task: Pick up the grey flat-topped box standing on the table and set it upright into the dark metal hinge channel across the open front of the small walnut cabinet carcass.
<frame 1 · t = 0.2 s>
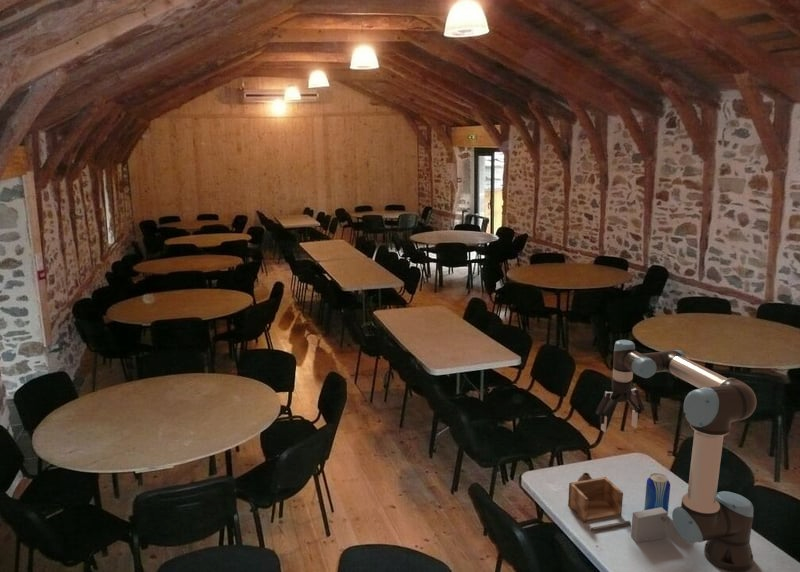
hand: (618, 428, 262), 28 cm above the table, fingers open, 13 cm apart
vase: (585, 493, 267), on the table
beer can: (655, 515, 252), on the table
grey flat-topped box: (648, 536, 239), on the table
carcass: (594, 510, 255), on the table
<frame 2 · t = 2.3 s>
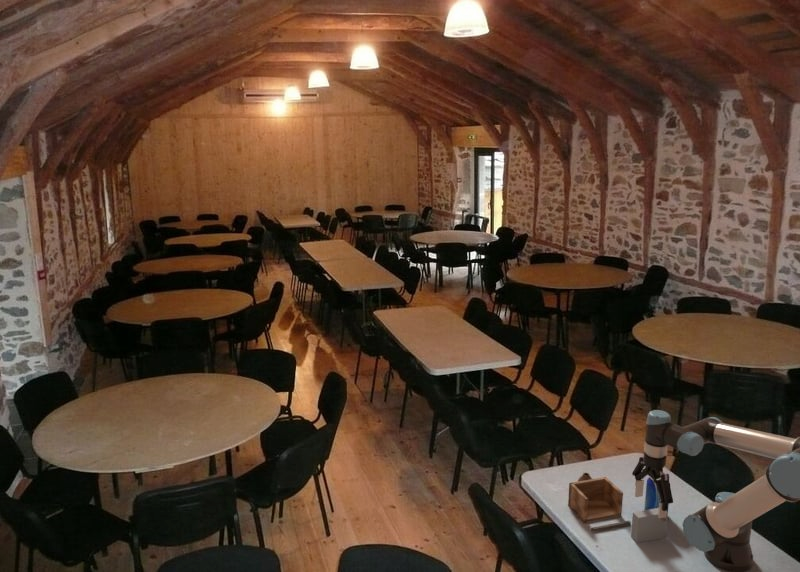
hand: (650, 506, 236), 12 cm above the table, fingers open, 13 cm apart
nothing on the table moved.
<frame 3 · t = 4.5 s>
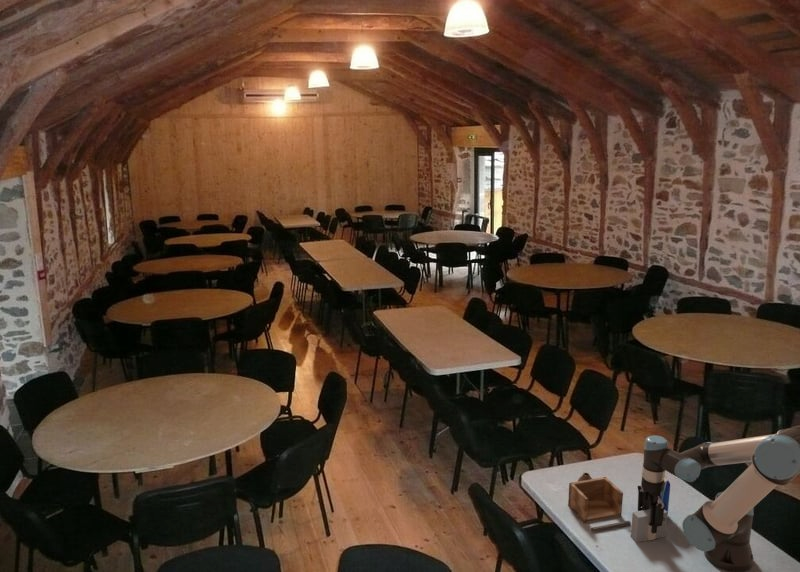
hand: (647, 535, 239), 0 cm above the table, fingers closed on grey flat-topped box, 3 cm apart
grey flat-topped box: (647, 536, 239), on the table, touching gripper
everything else where it was.
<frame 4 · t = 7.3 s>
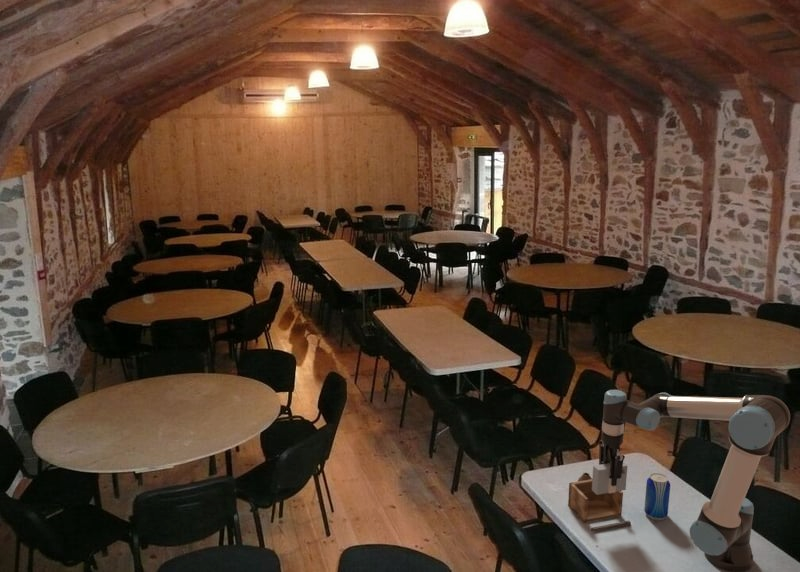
hand: (608, 489, 244), 14 cm above the table, fingers closed on grey flat-topped box, 3 cm apart
grey flat-topped box: (608, 489, 244), point 14 cm above the table, touching gripper
everything else where it was.
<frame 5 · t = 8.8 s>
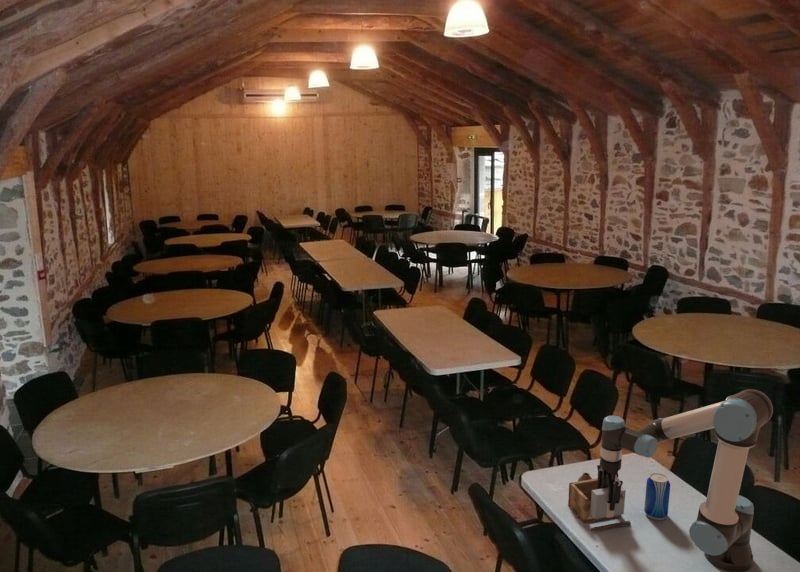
hand: (606, 513, 246), 4 cm above the table, fingers closed on grey flat-topped box, 3 cm apart
grey flat-topped box: (606, 513, 246), point 4 cm above the table, touching gripper
everything else where it was.
when the fingers open (2 cm above the table, at t = 10.0 s): grey flat-topped box drops 2 cm, on the table.
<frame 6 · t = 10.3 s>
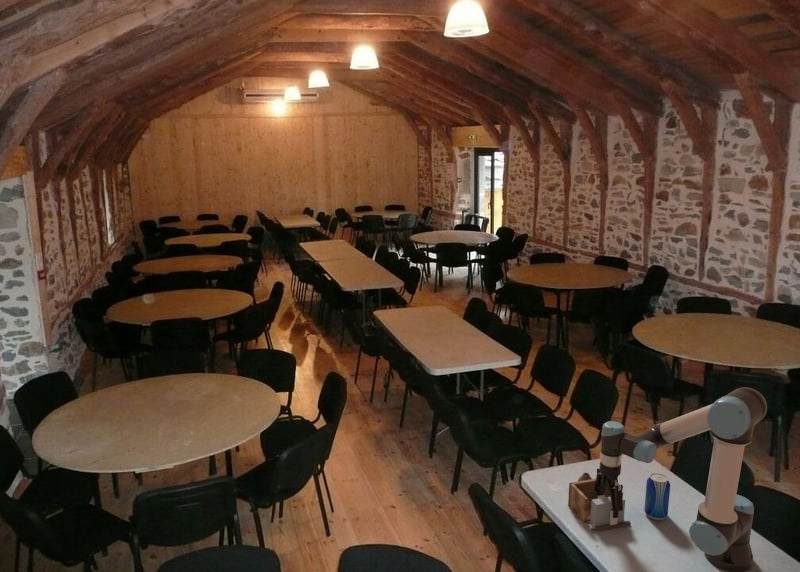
hand: (606, 517, 247), 2 cm above the table, fingers open, 8 cm apart
grey flat-topped box: (606, 523, 247), on the table
everything else where it was.
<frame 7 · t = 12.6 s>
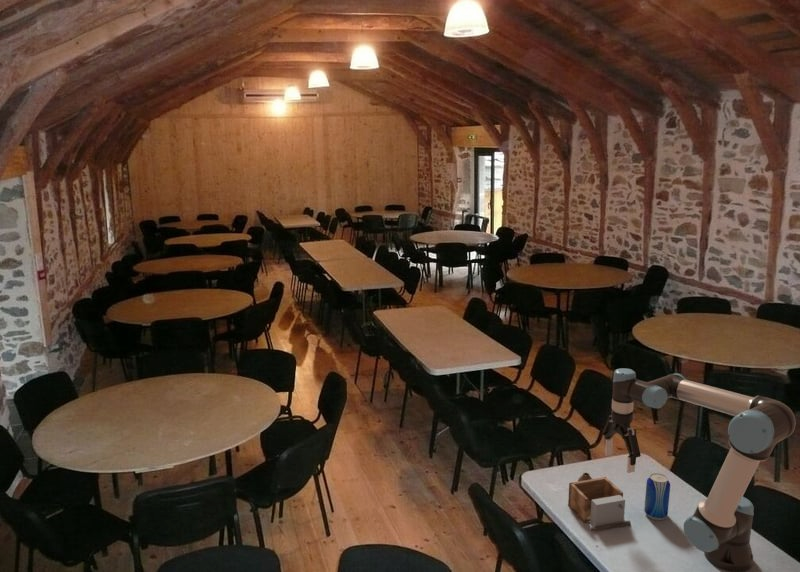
hand: (619, 463, 244), 23 cm above the table, fingers open, 13 cm apart
nothing on the table moved.
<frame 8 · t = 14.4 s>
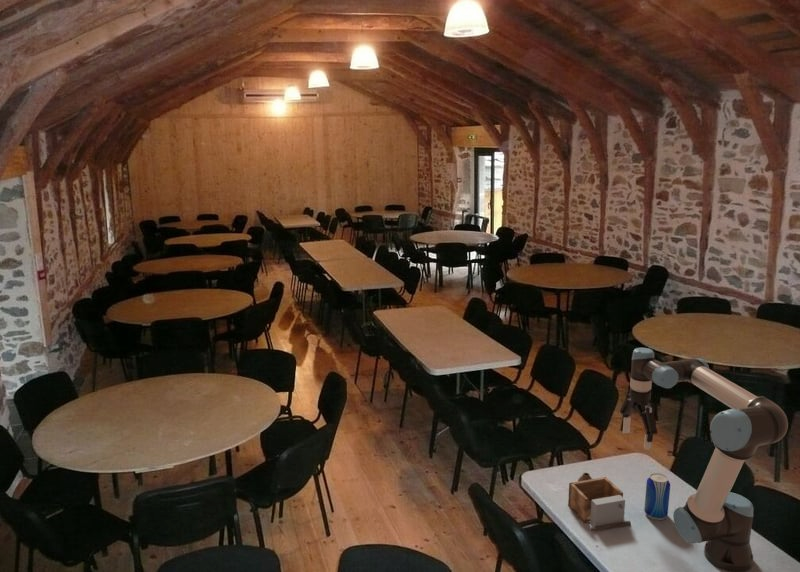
hand: (636, 440, 250), 29 cm above the table, fingers open, 13 cm apart
nothing on the table moved.
at the end: grey flat-topped box 0.1 cm from the target spot on the carcass, point 0.0 cm above the carcass's base; grey flat-topped box tilted 0°; the gripper is holding nothing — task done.
